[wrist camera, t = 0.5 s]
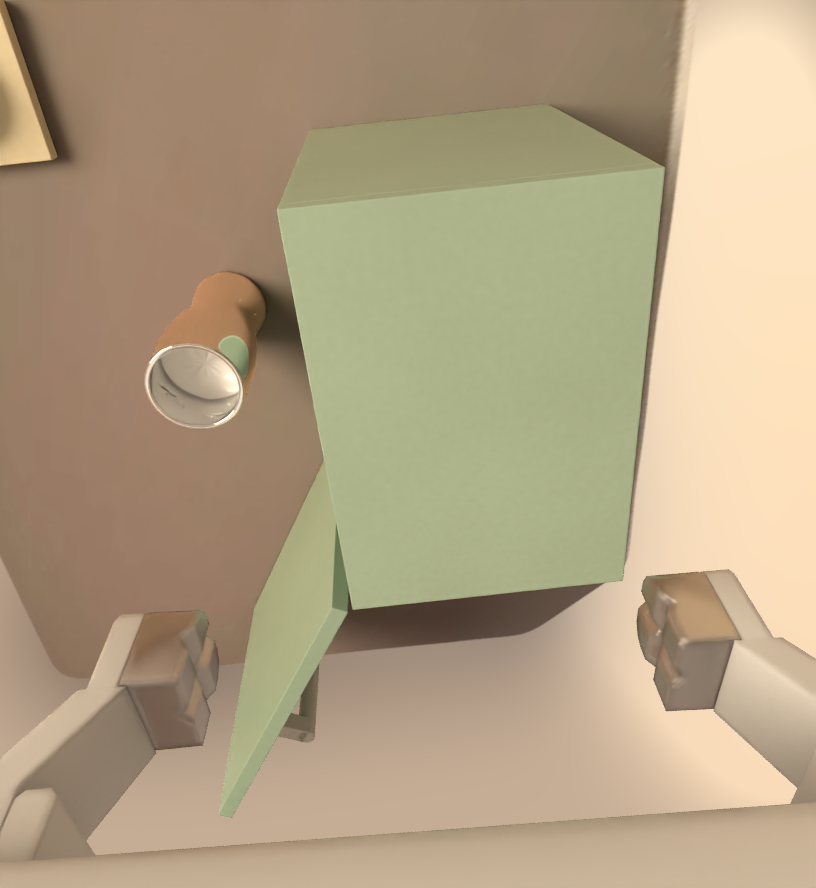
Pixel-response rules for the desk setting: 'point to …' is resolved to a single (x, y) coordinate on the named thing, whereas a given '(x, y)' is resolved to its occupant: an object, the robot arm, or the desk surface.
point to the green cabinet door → (288, 642)
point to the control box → (19, 104)
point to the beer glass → (208, 354)
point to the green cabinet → (474, 345)
